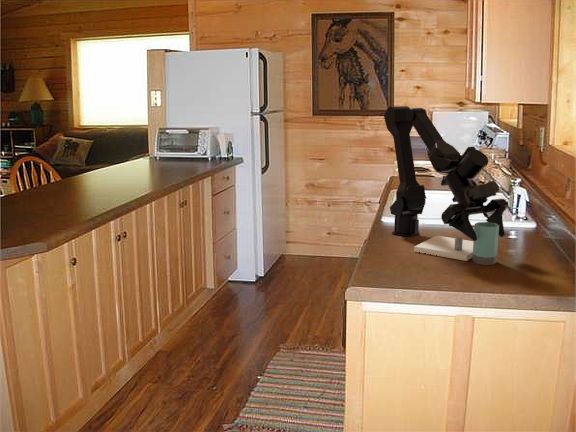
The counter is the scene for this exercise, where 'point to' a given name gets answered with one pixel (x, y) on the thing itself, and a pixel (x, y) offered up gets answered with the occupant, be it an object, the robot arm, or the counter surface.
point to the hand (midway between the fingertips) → (489, 238)
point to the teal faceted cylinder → (485, 243)
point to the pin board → (447, 247)
